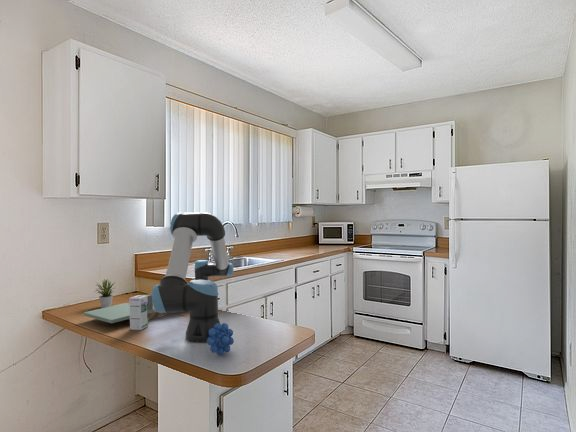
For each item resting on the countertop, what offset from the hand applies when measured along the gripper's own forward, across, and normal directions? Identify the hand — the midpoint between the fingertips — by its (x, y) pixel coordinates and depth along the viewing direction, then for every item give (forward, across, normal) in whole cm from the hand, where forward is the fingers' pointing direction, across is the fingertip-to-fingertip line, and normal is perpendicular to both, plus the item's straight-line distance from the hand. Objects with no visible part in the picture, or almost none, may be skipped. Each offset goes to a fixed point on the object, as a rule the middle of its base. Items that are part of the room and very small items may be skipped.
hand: (151, 298), depth 183 cm
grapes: (+17, -67, -10) cm, 69 cm away
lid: (+11, +10, -6) cm, 16 cm away
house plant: (0, +43, -10) cm, 44 cm away
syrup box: (+13, -10, -10) cm, 19 cm away
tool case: (-2, +10, -9) cm, 14 cm away
